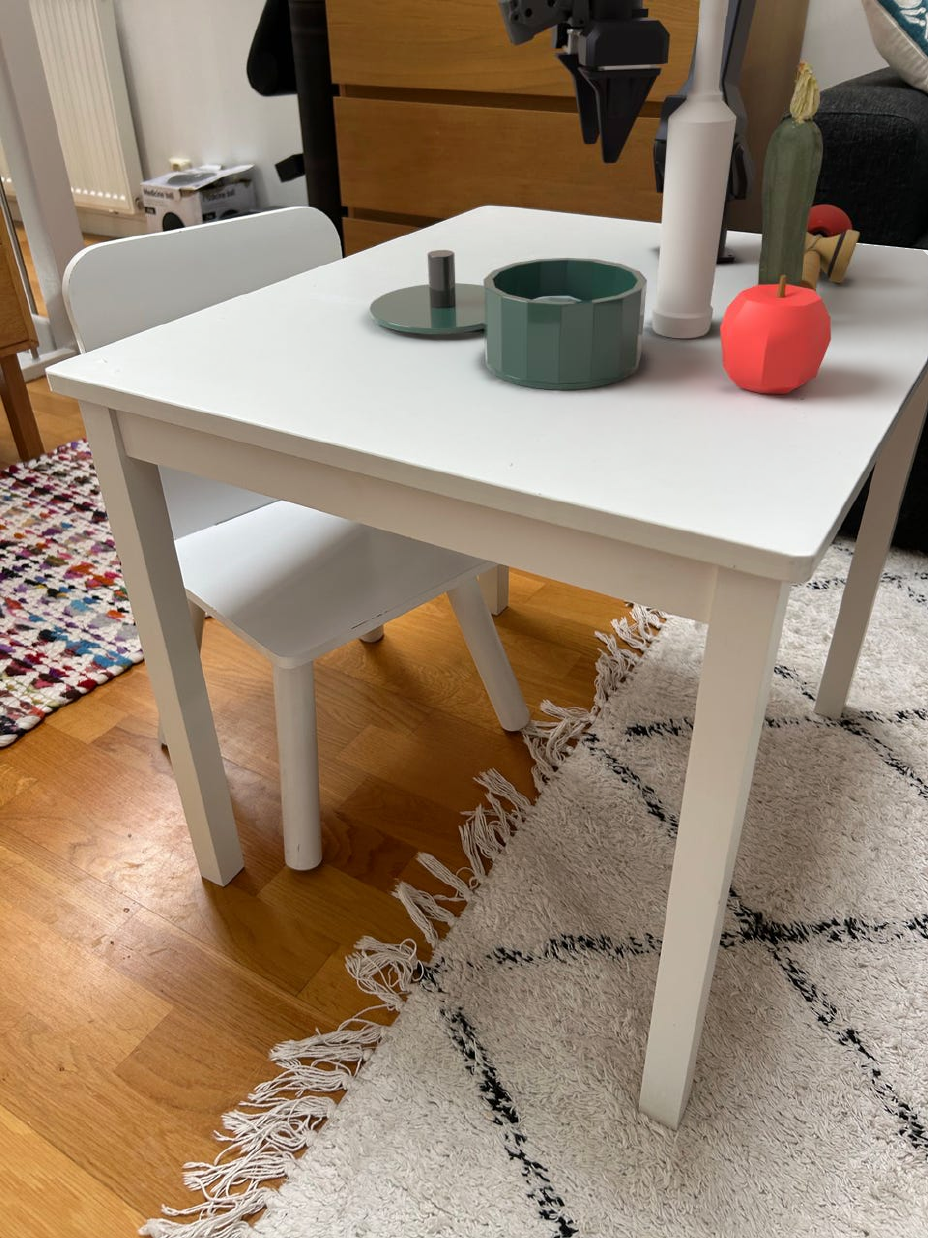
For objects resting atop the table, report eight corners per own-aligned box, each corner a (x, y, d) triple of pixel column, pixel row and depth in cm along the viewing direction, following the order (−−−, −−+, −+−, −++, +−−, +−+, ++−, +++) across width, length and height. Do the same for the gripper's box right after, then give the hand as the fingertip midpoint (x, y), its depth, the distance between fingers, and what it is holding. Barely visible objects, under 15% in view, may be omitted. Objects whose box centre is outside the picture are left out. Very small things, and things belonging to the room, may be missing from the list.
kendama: (846, 329, 86) (866, 250, 98) (846, 260, 82) (866, 186, 94) (757, 335, 89) (786, 258, 101) (753, 269, 85) (784, 197, 97)
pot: (479, 339, 83) (478, 261, 79) (621, 331, 83) (627, 254, 80) (493, 393, 73) (492, 307, 69) (654, 385, 73) (662, 299, 69)
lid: (371, 297, 93) (366, 237, 90) (507, 291, 94) (507, 231, 91) (370, 344, 83) (364, 278, 79) (524, 336, 83) (525, 270, 80)
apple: (828, 371, 74) (848, 265, 70) (813, 410, 69) (835, 297, 64) (724, 359, 77) (738, 256, 73) (702, 395, 71) (715, 286, 67)
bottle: (717, 323, 84) (759, -17, 70) (703, 342, 81) (744, -14, 66) (659, 317, 86) (689, -16, 72) (643, 335, 82) (671, -13, 68)
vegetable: (795, 335, 81) (841, 64, 70) (742, 333, 82) (780, 65, 71) (791, 318, 85) (835, 58, 73) (741, 316, 86) (776, 58, 74)
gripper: (493, -67, 80) (495, 139, 89) (519, -70, 65) (518, 178, 74) (624, -71, 81) (613, 134, 90) (681, -75, 66) (660, 172, 75)
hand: (599, 152), depth 82 cm, fingers open, 9 cm apart
